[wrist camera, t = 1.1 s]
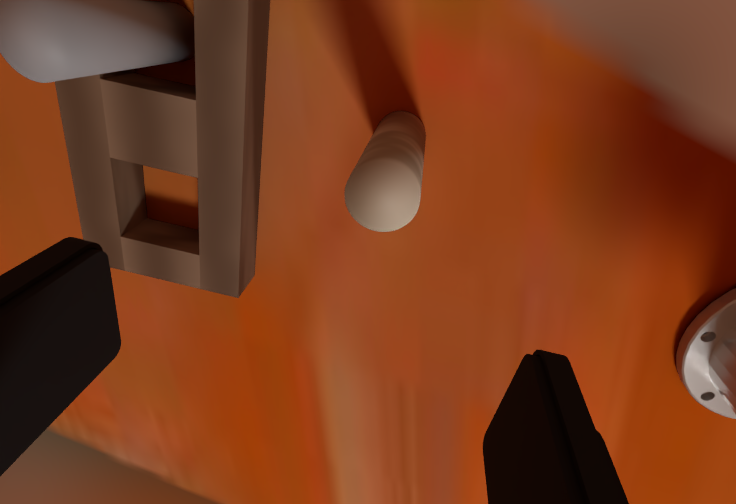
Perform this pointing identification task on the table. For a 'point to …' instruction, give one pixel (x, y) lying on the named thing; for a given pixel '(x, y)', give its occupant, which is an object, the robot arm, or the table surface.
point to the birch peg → (388, 174)
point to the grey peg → (92, 36)
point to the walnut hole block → (176, 153)
